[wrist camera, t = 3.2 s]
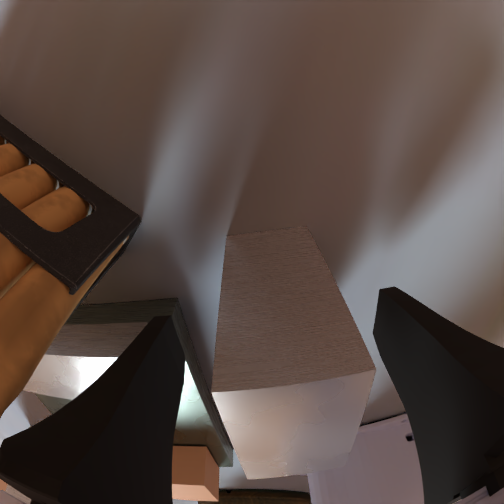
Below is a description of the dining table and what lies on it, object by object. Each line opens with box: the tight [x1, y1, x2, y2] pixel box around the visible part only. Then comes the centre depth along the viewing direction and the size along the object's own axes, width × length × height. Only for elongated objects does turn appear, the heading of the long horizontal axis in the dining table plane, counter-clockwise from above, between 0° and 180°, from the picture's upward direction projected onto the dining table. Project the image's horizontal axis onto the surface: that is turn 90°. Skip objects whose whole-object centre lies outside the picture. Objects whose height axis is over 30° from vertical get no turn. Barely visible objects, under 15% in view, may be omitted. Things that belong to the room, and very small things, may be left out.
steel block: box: [211, 226, 376, 480], centre depth 9 cm, size 5×3×7 cm, turn 7°
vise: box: [23, 298, 233, 467], centre depth 14 cm, size 12×14×4 cm
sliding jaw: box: [172, 446, 219, 501], centre depth 15 cm, size 10×4×3 cm, turn 97°
